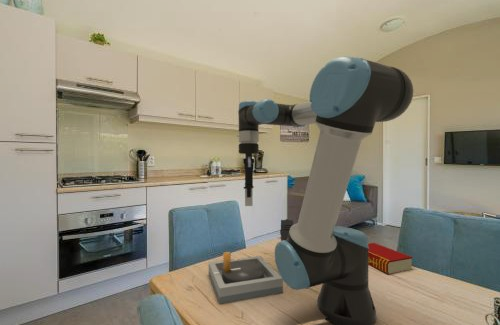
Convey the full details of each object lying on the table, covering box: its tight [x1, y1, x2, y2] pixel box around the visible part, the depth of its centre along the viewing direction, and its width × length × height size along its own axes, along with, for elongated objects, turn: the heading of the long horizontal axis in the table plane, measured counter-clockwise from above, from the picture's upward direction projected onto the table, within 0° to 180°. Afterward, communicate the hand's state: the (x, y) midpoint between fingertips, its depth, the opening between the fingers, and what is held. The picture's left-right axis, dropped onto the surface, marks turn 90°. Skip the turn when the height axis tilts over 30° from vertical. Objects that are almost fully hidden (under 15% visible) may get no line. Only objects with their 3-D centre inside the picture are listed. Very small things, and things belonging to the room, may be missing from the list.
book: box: [368, 242, 413, 275], centre depth 102 cm, size 18×13×5 cm
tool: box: [279, 218, 294, 242], centre depth 110 cm, size 6×19×15 cm, turn 174°
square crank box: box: [208, 255, 284, 305], centre depth 85 cm, size 20×20×5 cm
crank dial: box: [222, 251, 264, 284], centre depth 85 cm, size 14×14×8 cm
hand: (248, 205), depth 95 cm, fingers closed
